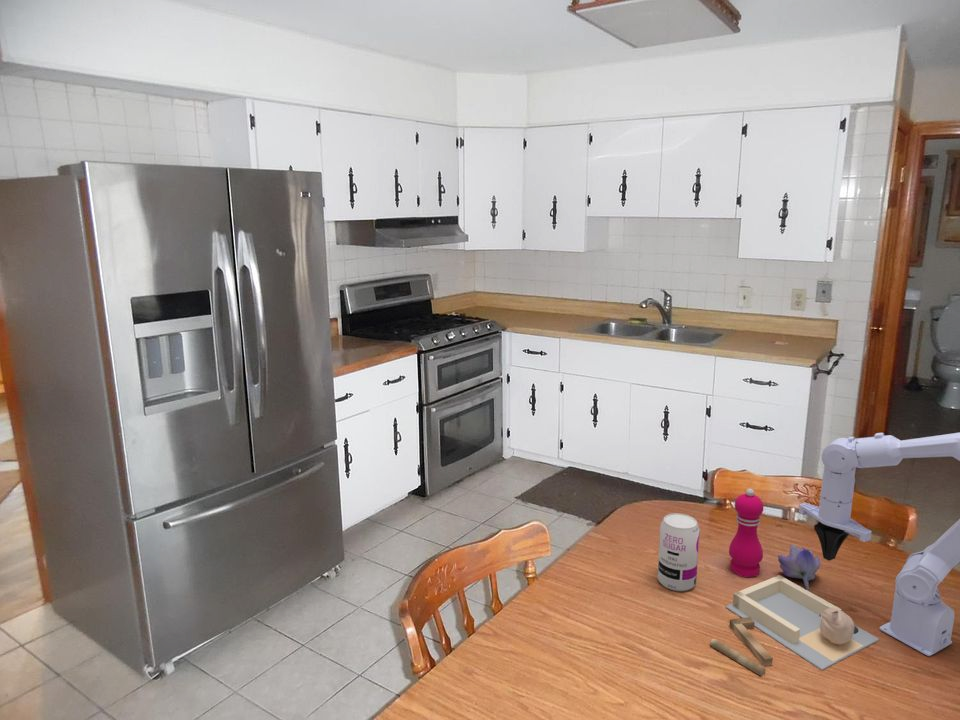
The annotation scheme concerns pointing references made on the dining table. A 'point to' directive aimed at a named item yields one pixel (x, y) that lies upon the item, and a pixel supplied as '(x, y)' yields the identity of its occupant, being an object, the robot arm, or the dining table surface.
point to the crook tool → (750, 639)
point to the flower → (799, 564)
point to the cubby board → (795, 620)
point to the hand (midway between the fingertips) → (829, 558)
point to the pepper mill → (747, 536)
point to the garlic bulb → (836, 626)
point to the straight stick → (738, 657)
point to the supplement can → (678, 552)
